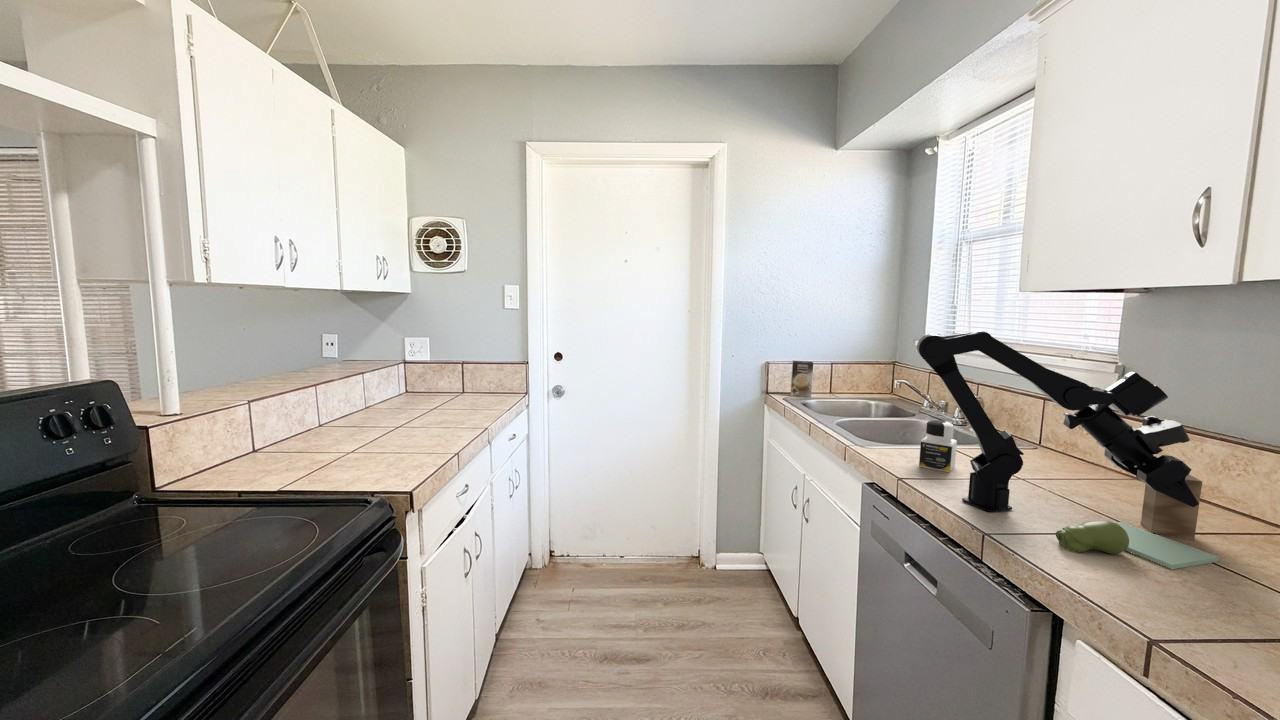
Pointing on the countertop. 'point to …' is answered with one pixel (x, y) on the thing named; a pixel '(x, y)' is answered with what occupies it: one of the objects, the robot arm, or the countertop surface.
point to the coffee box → (801, 379)
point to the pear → (1094, 537)
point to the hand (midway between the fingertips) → (1181, 496)
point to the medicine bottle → (938, 446)
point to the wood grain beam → (1171, 512)
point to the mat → (1164, 549)
